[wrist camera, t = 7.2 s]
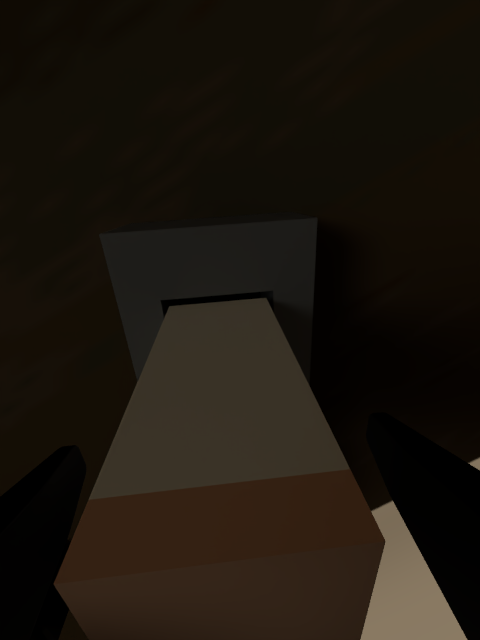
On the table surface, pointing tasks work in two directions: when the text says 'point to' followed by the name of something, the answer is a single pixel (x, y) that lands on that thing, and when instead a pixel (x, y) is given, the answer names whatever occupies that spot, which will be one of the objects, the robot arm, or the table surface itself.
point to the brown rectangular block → (223, 498)
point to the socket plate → (214, 272)
